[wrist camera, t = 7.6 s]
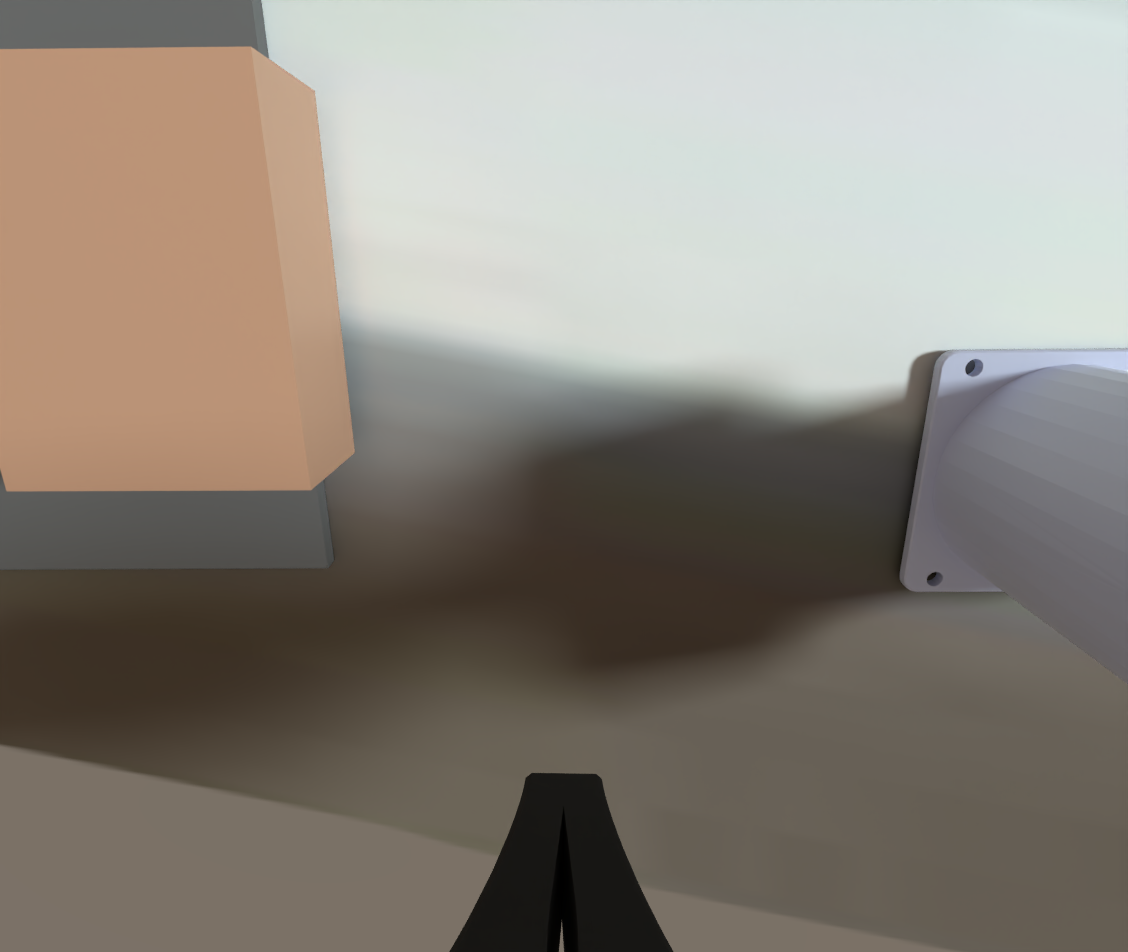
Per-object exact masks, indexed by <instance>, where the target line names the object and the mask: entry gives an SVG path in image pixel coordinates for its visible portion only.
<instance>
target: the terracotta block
mask: <svg viewBox="0 0 1128 952" xmlns="http://www.w3.org/2000/svg"><path fill="white" fill-rule="evenodd" d="M354 453H355V450H354V441H353V432H352V423H351V414H350V405H349V396H348V387H347V378H346V369H345V360H344V351H343V342H342V333H341V324H340V315H339V306H338V297H337V288H336V278H335V269H334V260H333V251H332V242H331V233H330V224H329V215H328V206H327V197H326V188H325V179H324V170H323V161H322V152H321V143H320V134H319V125H318V116H317V107H316V98H315V91H314V90H313V89H311V88H310V87H308V86H307V85H305V84H304V83H303V82H301V81H300V80H298V79H297V78H295V77H294V76H293V75H291V74H290V73H288V72H287V71H285V70H284V69H282V68H281V67H280V66H278V65H277V64H275V63H274V62H272V61H271V60H270V59H268V58H267V57H265V56H264V55H262V54H261V53H260V52H258V51H257V50H255V49H254V48H252V47H251V46H250V47H154V48H59V49H0V470H1V474H2V477H3V481H4V484H5V488H6V491H256V490H312V489H313V488H314V487H315V486H317V485H318V484H319V483H320V482H321V481H322V480H324V479H325V478H326V477H327V476H328V475H329V474H331V473H332V472H333V471H334V470H335V469H336V468H338V467H339V466H340V465H341V464H342V463H343V462H344V461H346V460H347V459H348V458H349V457H350V456H351V455H353V454H354Z"/></svg>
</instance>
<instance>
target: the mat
mask: <svg viewBox="0 0 1128 952" xmlns="http://www.w3.org/2000/svg"><path fill="white" fill-rule="evenodd" d="M250 46H251V47H252V48H254V49H255V50H257V51H258V52H260V53H261V54H262V55H264V56H265V57H267V58H268V59H269V57H268V49H267V41H266V34H265V26H264V18H263V11H262V3H261V0H0V49H59V48H154V47H250ZM333 561H334V555H333V548H332V540H331V532H330V525H329V517H328V509H327V502H326V494H325V486H324V480H322V481H321V482H320V483H319V484H318V485H317V486H315V487H314V488H313V489H312V490H256V491H6V488H5V484H4V481H3V477H2V474H1V470H0V570H57V569H274V568H328V567H329V566H330V565H331V564H332V563H333Z"/></svg>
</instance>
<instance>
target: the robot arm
mask: <svg viewBox="0 0 1128 952" xmlns="http://www.w3.org/2000/svg"><path fill="white" fill-rule="evenodd" d="M971 360H974V361H975V368H974V370H973V371H972V372H971V373H970V374H966V371H965V367H966V365H967V363H968V362H970V361H971ZM933 572H936V576H935V577H934V578H933V579H932V580H929V581H927V577H928V575H930V574H931V573H933ZM899 575H900V581H901V583H902V584H903V585H904V586H905V587H906V588H907V589H909V590H910V591H914V592H1005V593H1006V594H1007V595H1009V596H1010V597H1011V598H1013V599H1014V600H1015V601H1017V602H1018V603H1019V604H1021V605H1022V606H1023V607H1025V608H1026V609H1028V610H1029V611H1030V612H1032V613H1033V614H1034V615H1036V616H1037V617H1038V618H1040V619H1041V620H1042V621H1044V622H1045V623H1046V624H1048V625H1049V626H1050V627H1052V628H1053V629H1054V630H1056V631H1057V632H1058V633H1060V634H1061V635H1062V636H1064V637H1065V638H1067V639H1068V640H1069V641H1071V642H1072V643H1073V644H1075V645H1076V646H1077V647H1079V648H1080V649H1081V650H1083V651H1084V652H1085V653H1087V654H1088V655H1089V656H1091V657H1092V658H1093V659H1095V660H1096V661H1097V662H1099V663H1100V664H1101V665H1103V666H1104V667H1105V668H1107V669H1108V670H1110V671H1111V672H1112V673H1114V674H1115V675H1116V676H1118V677H1119V678H1120V679H1122V680H1123V681H1124V682H1126V683H1127V684H1128V348H1105V349H980V350H950V351H946V352H945V353H943V354H942V355H941V356H940V357H939V358H938V359H937V361H936V363H935V366H934V371H933V377H932V383H931V389H930V395H929V401H928V407H927V413H926V419H925V425H924V431H923V437H922V443H921V449H920V455H919V461H918V467H917V473H916V479H915V485H914V491H913V497H912V503H911V509H910V515H909V521H908V527H907V533H906V539H905V545H904V551H903V557H902V563H901V568H900V574H899ZM561 922H562V927H563V941H564V952H673V950H672V948H671V947H670V945H669V943H668V941H667V939H666V938H665V936H664V934H663V932H662V930H661V928H660V926H659V924H658V923H657V920H656V918H655V916H654V914H653V912H652V910H651V908H650V906H649V905H648V902H647V901H646V898H645V896H644V894H643V892H642V890H641V888H640V886H639V884H638V881H637V879H636V877H635V875H634V872H633V870H632V868H631V865H630V863H629V861H628V858H627V856H626V854H625V851H624V849H623V846H622V844H621V841H620V839H619V836H618V834H617V831H616V828H615V825H614V822H613V820H612V817H611V813H610V810H609V807H608V804H607V800H606V797H605V793H604V788H603V783H602V779H601V778H600V777H599V776H598V775H597V774H562V773H531V774H530V775H529V776H528V777H526V779H525V784H524V789H523V793H522V796H521V800H520V803H519V806H518V809H517V812H516V815H515V818H514V821H513V823H512V826H511V829H510V831H509V834H508V836H507V839H506V841H505V843H504V846H503V848H502V850H501V853H500V855H499V857H498V859H497V862H496V864H495V866H494V869H493V871H492V873H491V875H490V877H489V879H488V881H487V883H486V885H485V887H484V889H483V891H482V893H481V895H480V897H479V899H478V901H477V903H476V905H475V907H474V909H473V911H472V913H471V915H470V916H469V918H468V920H467V922H466V924H465V926H464V927H463V929H462V931H461V933H460V935H459V936H458V938H457V940H456V941H455V943H454V945H453V947H452V948H451V950H450V952H559V944H560V933H561Z"/></svg>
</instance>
